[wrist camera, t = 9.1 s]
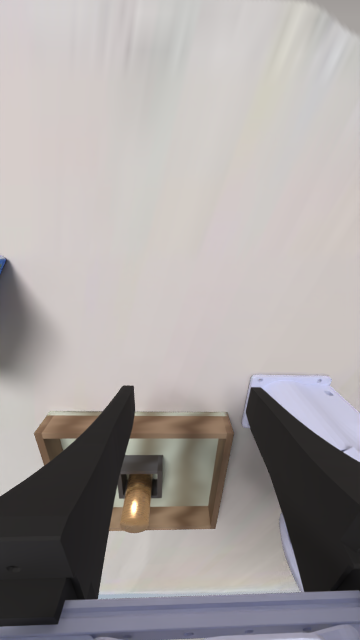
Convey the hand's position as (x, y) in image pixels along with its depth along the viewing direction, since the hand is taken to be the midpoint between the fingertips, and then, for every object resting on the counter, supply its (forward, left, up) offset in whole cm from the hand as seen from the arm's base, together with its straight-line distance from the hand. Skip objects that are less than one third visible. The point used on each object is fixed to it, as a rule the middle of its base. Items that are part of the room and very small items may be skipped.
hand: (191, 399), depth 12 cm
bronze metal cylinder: (+5, +21, -9) cm, 23 cm away
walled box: (+5, +21, -9) cm, 24 cm away
